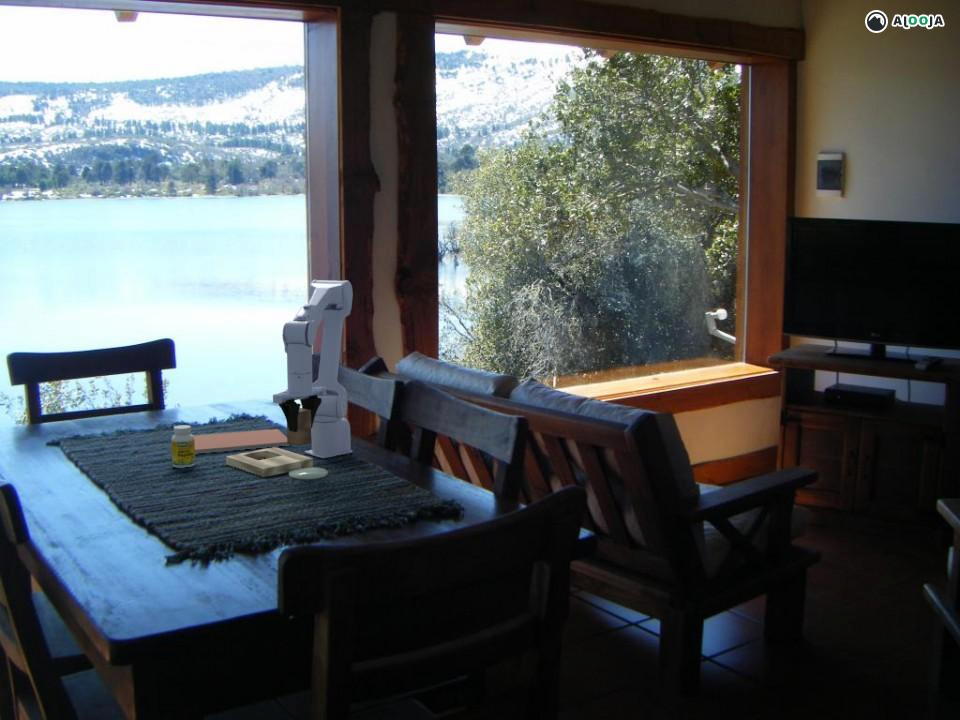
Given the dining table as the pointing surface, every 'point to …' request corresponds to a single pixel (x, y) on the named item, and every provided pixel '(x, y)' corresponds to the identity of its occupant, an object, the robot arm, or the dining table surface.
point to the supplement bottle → (183, 447)
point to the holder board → (269, 461)
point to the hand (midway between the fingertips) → (300, 429)
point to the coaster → (308, 473)
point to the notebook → (239, 440)
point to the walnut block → (301, 429)
